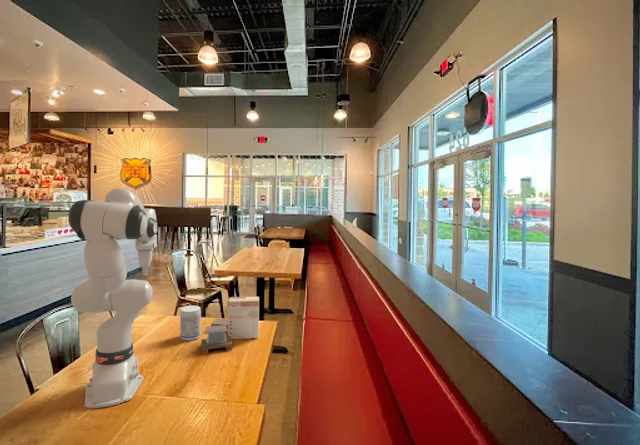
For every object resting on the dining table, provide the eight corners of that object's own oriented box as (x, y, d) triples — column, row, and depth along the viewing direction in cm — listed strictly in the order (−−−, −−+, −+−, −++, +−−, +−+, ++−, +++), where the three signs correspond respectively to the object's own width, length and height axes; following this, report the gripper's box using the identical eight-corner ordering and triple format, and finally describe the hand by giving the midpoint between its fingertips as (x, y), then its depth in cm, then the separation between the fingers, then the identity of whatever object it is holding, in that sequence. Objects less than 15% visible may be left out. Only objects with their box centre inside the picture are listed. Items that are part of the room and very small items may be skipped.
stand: (232, 349, 162) (232, 343, 162) (202, 353, 157) (202, 347, 157) (229, 342, 170) (229, 336, 170) (201, 345, 166) (201, 339, 165)
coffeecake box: (258, 333, 182) (259, 296, 181) (258, 338, 175) (258, 300, 174) (229, 333, 180) (229, 296, 178) (227, 339, 173) (227, 300, 171)
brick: (246, 327, 190) (246, 319, 190) (241, 333, 182) (241, 324, 181) (216, 326, 191) (216, 317, 191) (210, 332, 183) (210, 323, 182)
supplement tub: (182, 333, 179) (182, 305, 178) (202, 333, 180) (202, 304, 179) (178, 341, 169) (178, 311, 168) (198, 340, 171) (198, 311, 170)
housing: (206, 344, 160) (206, 331, 159) (205, 340, 164) (205, 327, 164) (226, 342, 163) (226, 328, 162) (225, 338, 167) (225, 324, 167)
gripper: (141, 240, 169) (141, 268, 170) (135, 247, 150) (136, 278, 151) (155, 240, 171) (155, 268, 172) (152, 246, 152) (152, 278, 153)
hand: (146, 273), depth 161 cm, fingers open, 8 cm apart
